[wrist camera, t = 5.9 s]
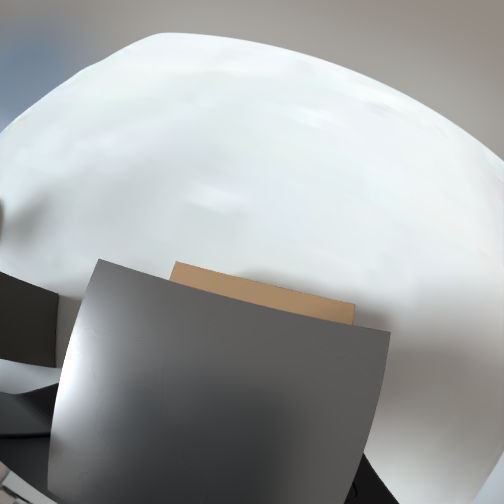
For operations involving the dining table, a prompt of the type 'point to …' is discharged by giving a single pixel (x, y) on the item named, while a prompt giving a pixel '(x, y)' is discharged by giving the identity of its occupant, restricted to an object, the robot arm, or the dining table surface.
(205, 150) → the dining table surface
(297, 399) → the block
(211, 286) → the keeper
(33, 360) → the phone stand
